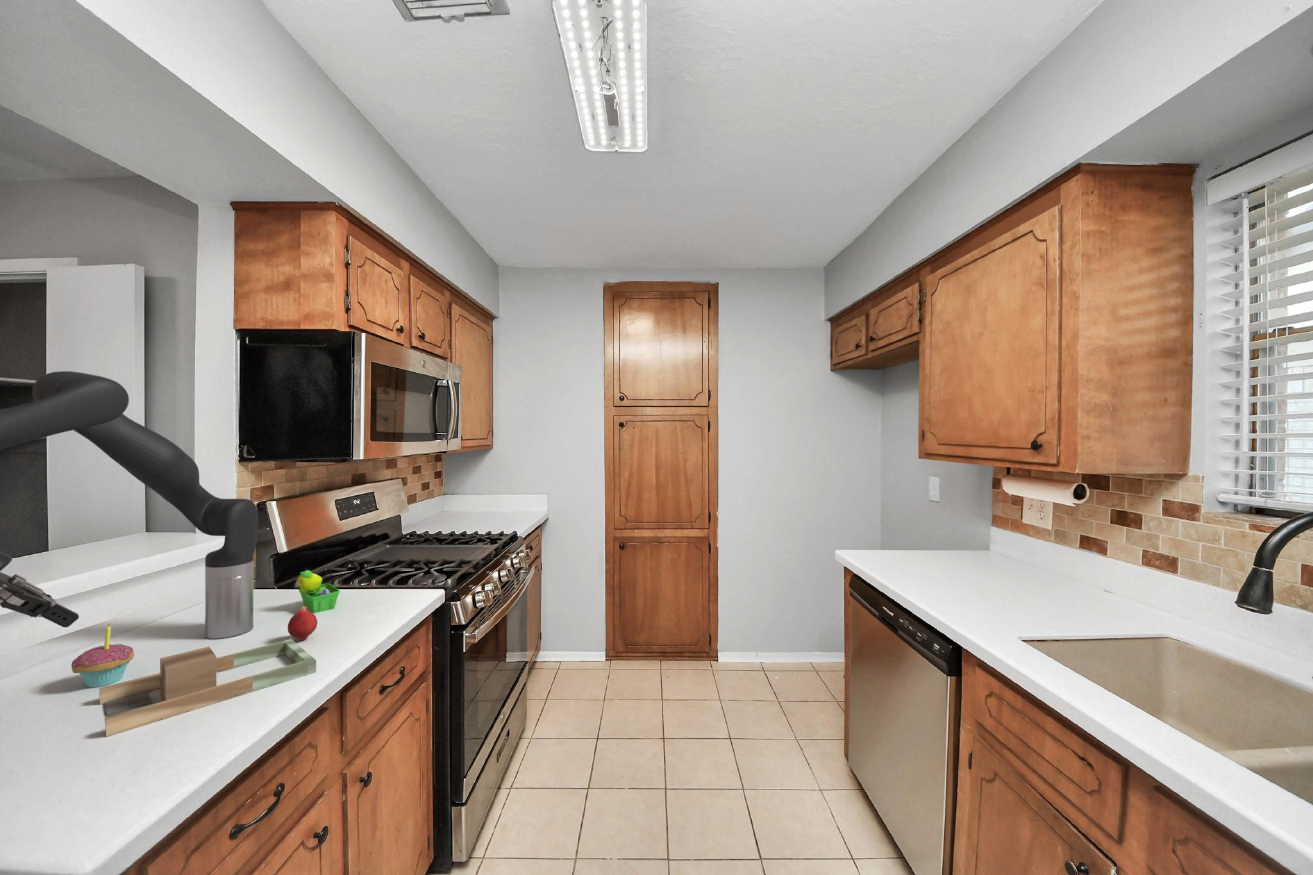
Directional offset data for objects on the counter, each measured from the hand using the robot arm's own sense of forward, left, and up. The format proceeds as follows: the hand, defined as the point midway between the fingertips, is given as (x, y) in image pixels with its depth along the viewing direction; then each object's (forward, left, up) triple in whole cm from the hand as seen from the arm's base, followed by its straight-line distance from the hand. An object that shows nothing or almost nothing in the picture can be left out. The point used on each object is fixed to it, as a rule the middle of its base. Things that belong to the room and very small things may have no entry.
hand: (73, 621), depth 85 cm
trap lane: (0, +17, -18) cm, 25 cm away
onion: (-13, +36, -18) cm, 43 cm away
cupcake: (-19, +4, -18) cm, 27 cm away
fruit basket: (-37, +46, -18) cm, 62 cm away
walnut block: (0, +14, -18) cm, 23 cm away
